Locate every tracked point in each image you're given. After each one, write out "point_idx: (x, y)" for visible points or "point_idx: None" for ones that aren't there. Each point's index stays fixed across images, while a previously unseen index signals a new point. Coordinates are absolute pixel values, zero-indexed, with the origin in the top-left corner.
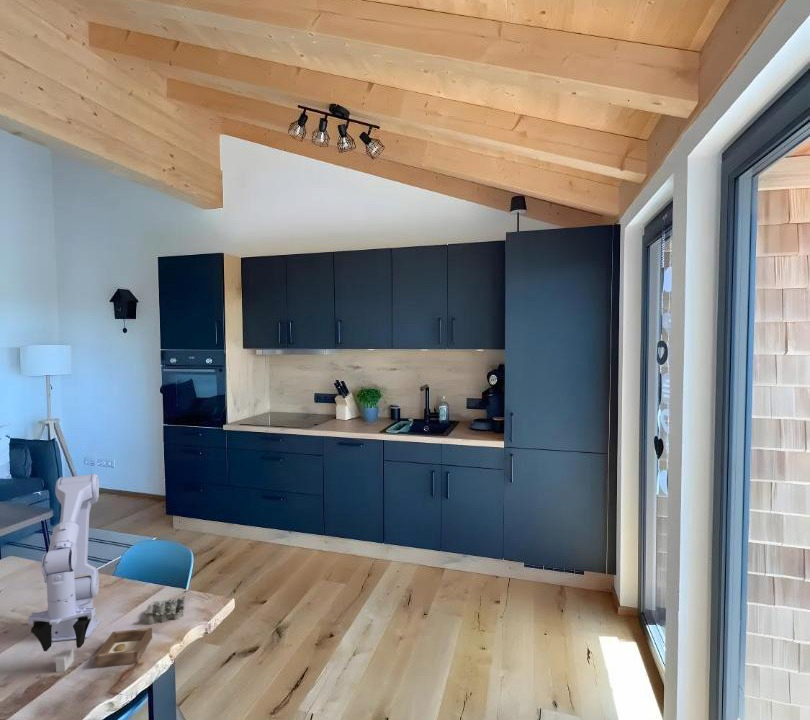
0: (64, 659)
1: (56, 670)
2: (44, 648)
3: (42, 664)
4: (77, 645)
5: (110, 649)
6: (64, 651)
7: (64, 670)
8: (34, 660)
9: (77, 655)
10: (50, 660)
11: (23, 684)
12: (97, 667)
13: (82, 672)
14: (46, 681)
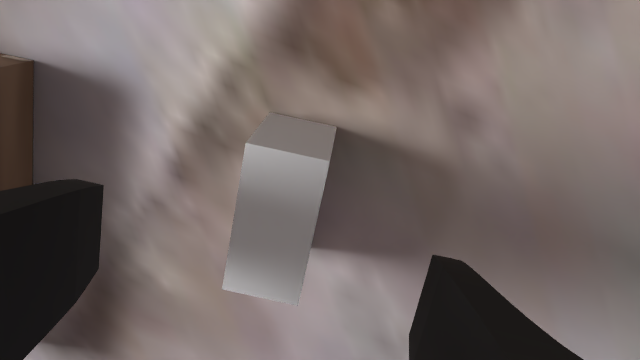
0: (249, 142)
1: (334, 131)
2: (457, 267)
3: None
4: (70, 183)
5: None
6: (285, 262)
7: (271, 112)
8: None
9: None
10: None
11: (561, 53)
12: (15, 57)
13: (117, 37)
14: (379, 21)
